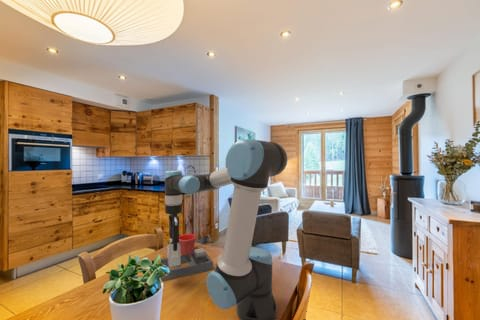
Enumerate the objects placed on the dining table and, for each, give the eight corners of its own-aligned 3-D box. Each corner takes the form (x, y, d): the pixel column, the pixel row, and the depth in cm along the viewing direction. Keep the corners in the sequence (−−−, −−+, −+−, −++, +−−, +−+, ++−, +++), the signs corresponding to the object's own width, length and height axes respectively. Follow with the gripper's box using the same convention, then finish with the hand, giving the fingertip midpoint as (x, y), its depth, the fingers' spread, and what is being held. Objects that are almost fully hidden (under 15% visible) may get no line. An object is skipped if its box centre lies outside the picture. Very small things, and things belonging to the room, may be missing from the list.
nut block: (180, 264, 95) (180, 246, 95) (168, 266, 92) (168, 248, 93) (178, 259, 99) (178, 242, 99) (167, 262, 97) (167, 244, 97)
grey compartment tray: (212, 269, 110) (212, 261, 110) (158, 282, 98) (158, 273, 98) (204, 257, 124) (204, 250, 124) (155, 267, 112) (155, 260, 112)
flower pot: (175, 256, 125) (175, 239, 125) (181, 248, 136) (181, 233, 136) (193, 256, 125) (193, 240, 125) (197, 248, 136) (197, 233, 136)
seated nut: (205, 266, 114) (205, 251, 114) (196, 268, 112) (196, 253, 112) (202, 262, 118) (203, 248, 118) (194, 264, 116) (194, 249, 116)
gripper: (186, 206, 90) (186, 261, 89) (178, 200, 106) (178, 246, 106) (167, 208, 87) (167, 265, 86) (162, 201, 103) (163, 249, 102)
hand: (173, 254), depth 96 cm, fingers closed on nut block, 5 cm apart
